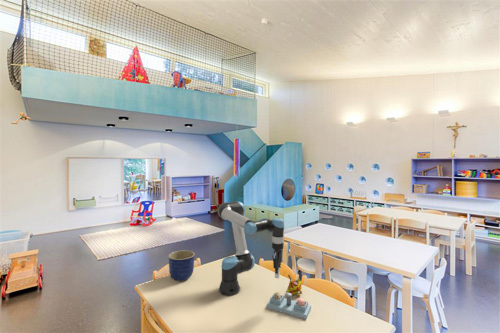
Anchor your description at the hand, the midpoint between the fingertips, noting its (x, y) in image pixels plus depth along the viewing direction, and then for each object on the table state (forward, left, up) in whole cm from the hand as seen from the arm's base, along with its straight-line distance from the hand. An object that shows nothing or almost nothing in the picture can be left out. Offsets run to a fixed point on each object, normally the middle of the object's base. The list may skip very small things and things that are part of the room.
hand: (277, 277), depth 164 cm
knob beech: (0, 0, -18) cm, 18 cm away
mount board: (+8, 0, -18) cm, 20 cm away
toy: (+6, +20, -19) cm, 28 cm away
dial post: (+8, 0, -16) cm, 18 cm away
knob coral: (+16, 0, -18) cm, 24 cm away
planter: (-83, +1, -18) cm, 85 cm away
